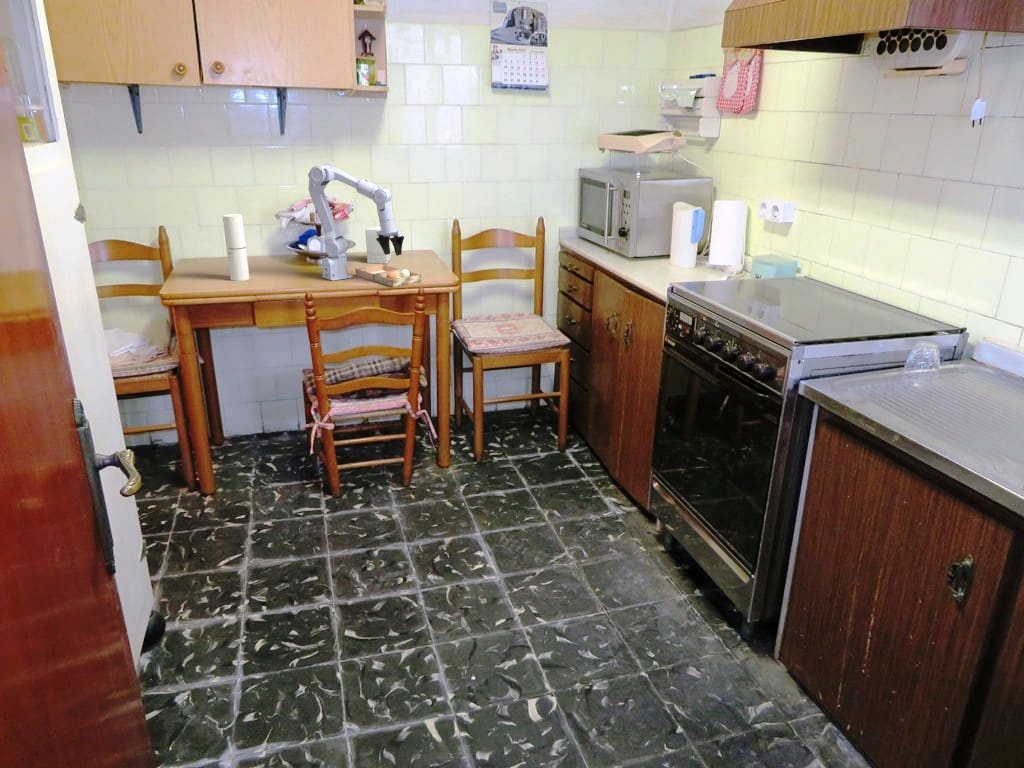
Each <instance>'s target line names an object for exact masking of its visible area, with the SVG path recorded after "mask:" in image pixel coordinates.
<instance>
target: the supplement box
mask: <svg viewBox="0 0 1024 768" xmlns="http://www.w3.org/2000/svg"><path fill="white" fill-rule="evenodd" d="M377 231H381V227H380V226H375V225H373V226H369V227H368V228H365V242H366V259H367V261H366V262H367V264H377V265H382V264H385V265H388V263H389V262H391V260H392V242H391V240H389V246H390V254H388V255H385V254H384V252H383V249H382V247H381V245H380V244H379V242H378V241H377V240H376V238H379V237H377V234H376V232H377Z"/></svg>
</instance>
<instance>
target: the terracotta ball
mask: <svg viewBox="0 0 1024 768" xmlns="http://www.w3.org/2000/svg"><path fill="white" fill-rule="evenodd" d="M387 278H389V279H392V280H394V279H397V275H396V274H395V273H394V272H389V273H388V274H387Z"/></svg>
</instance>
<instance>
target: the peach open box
mask: <svg viewBox="0 0 1024 768" xmlns="http://www.w3.org/2000/svg"><path fill="white" fill-rule="evenodd" d="M397 270H403V269H402V268H398V267H395V266H392V265H388V264H377V265H372V266H365V267H360V268H355V276H356V277H359V278H362V279H365V280H368V281H372V282H374V275H375V274H381V273H386V272H392V271H397Z"/></svg>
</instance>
